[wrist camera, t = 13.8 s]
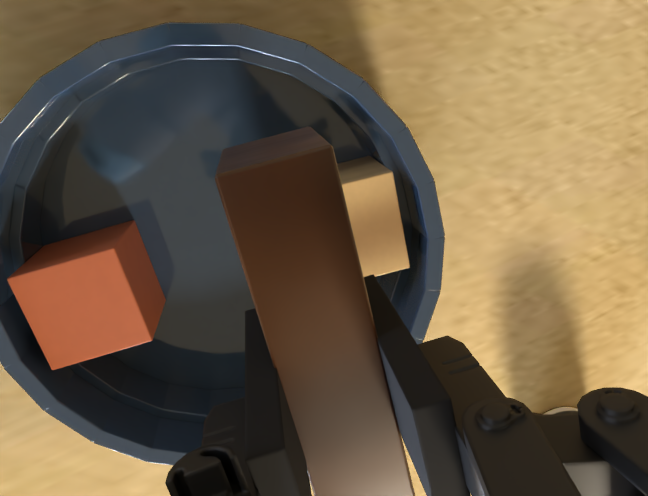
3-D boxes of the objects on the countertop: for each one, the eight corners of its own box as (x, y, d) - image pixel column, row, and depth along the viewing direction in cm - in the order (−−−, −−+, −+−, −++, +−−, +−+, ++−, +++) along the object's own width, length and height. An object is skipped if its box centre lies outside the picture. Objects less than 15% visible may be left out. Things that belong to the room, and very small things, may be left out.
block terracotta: (43, 245, 26) (5, 278, 22) (134, 219, 27) (113, 247, 22) (80, 325, 28) (51, 371, 24) (166, 300, 28) (152, 341, 24)
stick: (221, 149, 15) (213, 175, 11) (310, 125, 15) (332, 143, 11) (325, 490, 19) (345, 596, 15) (395, 469, 19) (432, 569, 15)
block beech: (282, 177, 27) (289, 197, 23) (369, 155, 27) (393, 171, 23) (303, 260, 29) (313, 293, 24) (386, 238, 29) (410, 268, 25)
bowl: (-58, 97, 24) (-139, 105, 19) (362, -17, 25) (392, -40, 20) (110, 443, 31) (83, 519, 26) (439, 342, 32) (476, 395, 27)
